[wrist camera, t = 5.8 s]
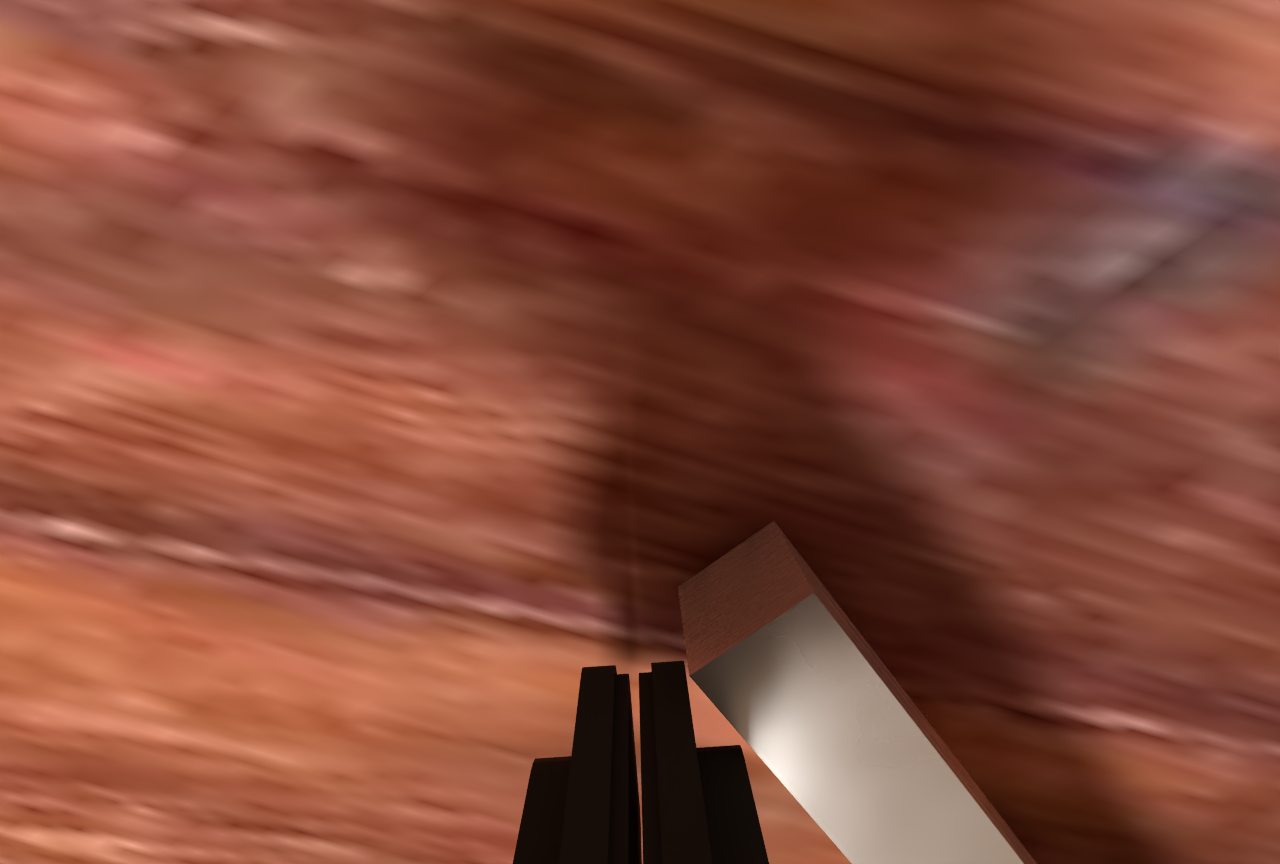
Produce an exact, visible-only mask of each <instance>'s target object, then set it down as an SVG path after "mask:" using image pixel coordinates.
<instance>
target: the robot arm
mask: <svg viewBox="0 0 1280 864" xmlns="http://www.w3.org/2000/svg"><path fill="white" fill-rule="evenodd" d="M651 666H652V672H648V673H639V699H640V741H641V784H642V826H643V864H769V862H768V857H767V853H766V849H765V844H764V840H763V836H762V832H761V827H760V823H759V819H758V815H757V810H756V806H755V802H754V798H753V793H752V789H751V785H750V781H749V776H748V772H747V768H746V764H745V759H744V755H743V752H742V748H741V746H740V745H733V746H719V747H704V748H696V743H695V736H694V729H693V722H692V715H691V708H690V700H689V693H688V686H687V679H686V672H685V665H684V661H673V662H658V663H651ZM513 864H642V861H641V821H640V805H639V792H638V780H637V767H636V755H635V742H634V730H633V717H632V705H631V692H630V680H629V674H618V675H617V672H616V666H615V665H612V666H598V667H583V668H582V673H581V681H580V689H579V698H578V706H577V715H576V723H575V731H574V740H573V748H572V756H569V757H554V758H539V759H535V760H534V762H533V765H532V769H531V773H530V778H529V783H528V789H527V794H526V799H525V804H524V809H523V814H522V819H521V824H520V829H519V834H518V840H517V845H516V850H515V855H514V860H513Z"/></svg>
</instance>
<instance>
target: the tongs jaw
mask: <svg viewBox="0 0 1280 864" xmlns="http://www.w3.org/2000/svg"><path fill="white" fill-rule="evenodd" d="M677 588H678V595H679V603H680V610H681V617H682V625H683V632H684V640H685V647H686V654H687V662H688V669H689V676H690V677H691V678H692V679H693V681H694V682H695V683H696V684H697V685H698V686H699V687H700V689H701V690H702V691H703V692H704V693H705V694H706V696H707V697H708V698H709V699H710V700H711V701H712V703H713V704H714V705H715V706H716V707H717V708H718V709H719V711H720V712H721V713H722V714H723V715H724V716H725V718H726V719H727V720H728V721H729V722H730V723H731V724H732V726H733V727H734V728H735V729H736V730H737V731H738V733H739V734H740V735H741V736H742V737H743V738H744V739H745V741H746V742H747V743H748V744H749V745H750V746H751V748H752V749H753V750H754V751H755V752H756V753H757V755H758V756H759V757H760V758H761V759H762V760H763V761H764V763H765V764H766V765H767V766H768V767H769V768H770V770H771V771H772V772H773V773H774V774H775V775H776V776H777V778H778V779H779V780H780V781H781V782H782V783H783V785H784V786H785V787H786V788H787V789H788V790H789V791H790V793H791V794H792V795H793V796H794V797H795V798H796V800H797V801H798V802H799V803H800V804H801V805H802V807H803V808H804V809H805V810H806V811H807V812H808V813H809V815H810V816H811V817H812V818H813V819H814V820H815V822H816V823H817V824H818V825H819V826H820V827H821V828H822V830H823V831H824V832H825V833H826V834H827V835H828V837H829V838H830V839H831V840H832V841H833V842H834V843H835V845H836V846H837V847H838V848H839V849H840V850H841V852H842V853H843V854H844V855H845V856H846V857H847V859H848V860H849V861H850V862H851V863H852V864H1037V862H1036V861H1035V860H1034V859H1033V857H1032V856H1031V855H1030V853H1029V852H1028V851H1027V849H1026V848H1025V847H1024V846H1023V844H1022V843H1021V842H1020V840H1019V839H1018V838H1017V836H1016V835H1015V834H1014V833H1013V831H1012V830H1011V829H1010V827H1009V826H1008V825H1007V823H1006V822H1005V821H1004V820H1003V818H1002V817H1001V816H1000V814H999V813H998V812H997V810H996V809H995V808H994V806H993V805H992V804H991V803H990V801H989V800H988V799H987V797H986V796H985V795H984V793H983V792H982V791H981V790H980V788H979V787H978V786H977V784H976V783H975V782H974V780H973V779H972V778H971V777H970V775H969V774H968V773H967V771H966V770H965V769H964V767H963V766H962V765H961V764H960V762H959V761H958V760H957V758H956V757H955V756H954V754H953V753H952V752H951V751H950V749H949V748H948V747H947V745H946V744H945V743H944V741H943V740H942V739H941V737H940V736H939V735H938V734H937V732H936V731H935V730H934V728H933V727H932V726H931V724H930V723H929V722H928V721H927V719H926V718H925V717H924V715H923V714H922V713H921V711H920V710H919V709H918V708H917V706H916V705H915V704H914V702H913V701H912V700H911V698H910V697H909V696H908V695H907V693H906V692H905V691H904V689H903V688H902V687H901V685H900V684H899V683H898V681H897V680H896V679H895V678H894V676H893V675H892V674H891V672H890V671H889V670H888V668H887V667H886V666H885V665H884V663H883V662H882V661H881V659H880V658H879V657H878V655H877V654H876V653H875V652H874V650H873V649H872V648H871V646H870V645H869V644H868V642H867V641H866V640H865V639H864V637H863V636H862V635H861V633H860V632H859V631H858V629H857V628H856V627H855V625H854V624H853V623H852V622H851V620H850V619H849V618H848V616H847V615H846V614H845V612H844V611H843V610H842V609H841V607H840V606H839V605H838V603H837V602H836V601H835V599H834V598H833V597H832V596H831V594H830V593H829V592H828V590H827V589H826V588H825V586H824V585H823V584H822V583H821V581H820V580H819V579H818V577H817V576H816V575H815V573H814V572H813V571H812V569H811V568H810V567H809V566H808V564H807V563H806V562H805V560H804V559H803V558H802V556H801V555H800V554H799V553H798V551H797V550H796V549H795V547H794V546H793V545H792V543H791V542H790V541H789V540H788V538H787V537H786V536H785V534H784V533H783V532H782V530H781V529H780V528H779V527H778V525H777V524H776V523H775V521H773V522H771V523H770V524H768V525H767V526H765V527H764V528H762V529H761V530H760V531H758V532H757V533H755V534H754V535H752V536H751V537H749V538H748V539H747V540H745V541H744V542H742V543H741V544H739V545H738V546H737V547H735V548H734V549H732V550H731V551H729V552H728V553H726V554H725V555H724V556H722V557H721V558H719V559H718V560H716V561H715V562H713V563H712V564H711V565H709V566H708V567H706V568H705V569H703V570H702V571H700V572H699V573H698V574H696V575H695V576H693V577H692V578H690V579H689V580H687V581H686V582H685V583H683V584H682V585H680V586H679V587H677Z"/></svg>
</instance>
